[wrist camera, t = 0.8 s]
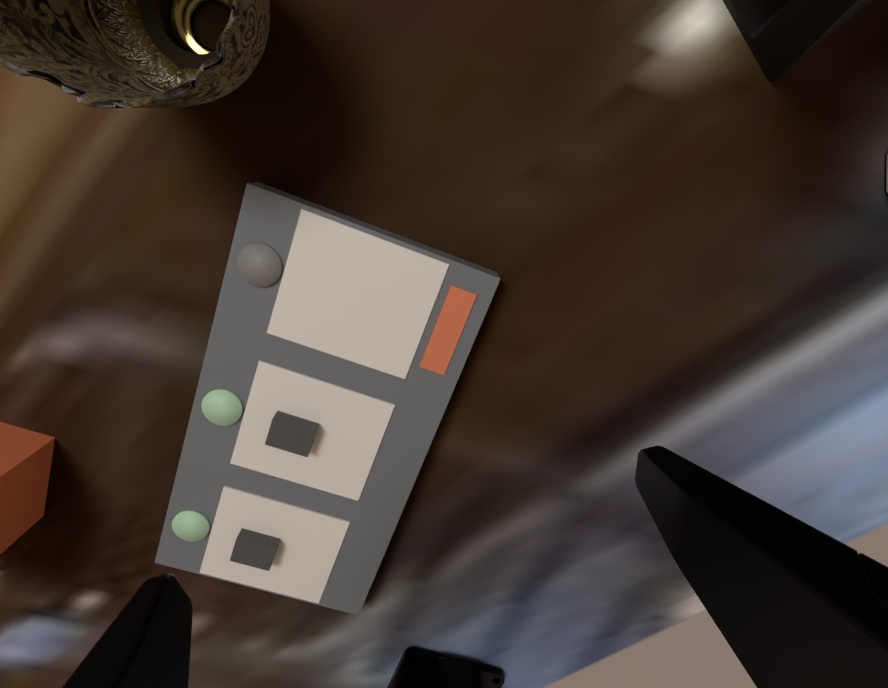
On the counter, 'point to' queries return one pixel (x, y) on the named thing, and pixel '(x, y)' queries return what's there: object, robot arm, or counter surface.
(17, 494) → the block
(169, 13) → the cup
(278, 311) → the breaker panel
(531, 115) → the counter surface
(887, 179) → the white cup
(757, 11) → the phone stand
